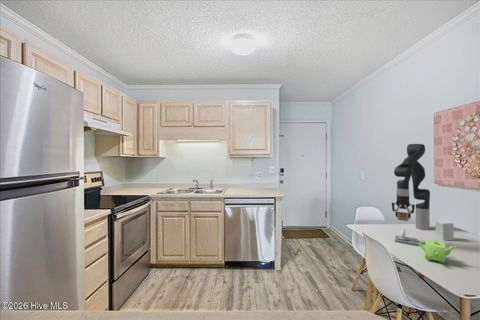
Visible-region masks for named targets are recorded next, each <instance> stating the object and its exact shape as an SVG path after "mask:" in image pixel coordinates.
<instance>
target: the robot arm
mask: <svg viewBox="0 0 480 320" xmlns="http://www.w3.org/2000/svg"><path fill="white" fill-rule="evenodd" d="M425 152H426V145H425V144H423V143H411V144H410V143H409V144H408V145H407V146H406V153H407V157H405V158H404V160H403V161H402V162H401V163H400V164H399V165H397V166H396V167H395V168H394V170H393V175H394V176H395V177H399V178H403V179H399V180H397V182H396V202H391V209H392V211H393V212H394V213H395V217H396V218H398V212H399V210H400V209H401V210H406V211H407V213H408V220H409V219H411V217H412V215H411V214H414V212H415V228H416V229H419V230H425V231H429V230H430V223H431V222H430V212H431V211H430V199H431V191H430V189H425V188H419V187H420V184H421V183H422V182H423V181H424V179H426V171H425V168H424V166H423V165H422V164H421V163H420V162H419V160H420V159H421V158H422V157H423V156H424V155H425V154H426V153H425ZM410 180H411V182H412V190H413V191H412V193H413V198H414V200H419V201H423V202H418V203H416V204H414V203H413V204H412V203H410ZM395 206H397V208H396V209H395ZM409 207H410V208H411V210H410V208H409Z"/></svg>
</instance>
